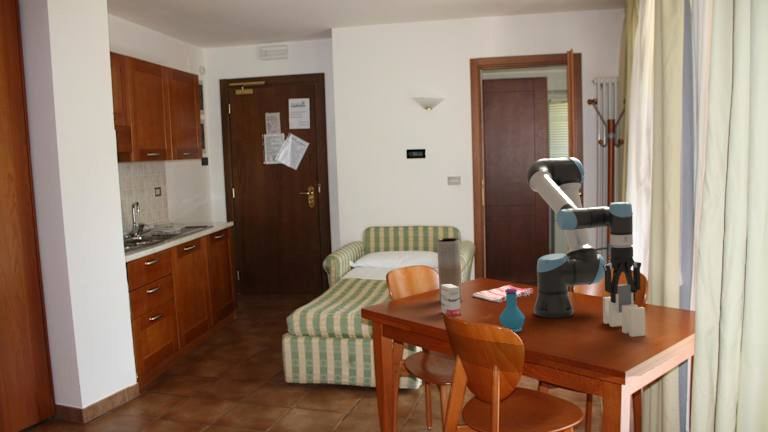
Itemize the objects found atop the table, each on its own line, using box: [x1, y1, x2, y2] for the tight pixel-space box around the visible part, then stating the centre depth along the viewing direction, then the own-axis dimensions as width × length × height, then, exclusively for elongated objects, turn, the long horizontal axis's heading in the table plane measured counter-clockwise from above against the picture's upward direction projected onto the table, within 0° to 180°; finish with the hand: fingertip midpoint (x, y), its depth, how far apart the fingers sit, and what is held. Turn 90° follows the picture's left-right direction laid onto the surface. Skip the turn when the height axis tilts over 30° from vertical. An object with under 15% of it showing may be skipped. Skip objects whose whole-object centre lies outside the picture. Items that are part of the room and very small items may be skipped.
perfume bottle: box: [498, 288, 526, 333], centre depth 238 cm, size 9×9×15 cm
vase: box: [436, 237, 463, 303], centre depth 287 cm, size 10×10×28 cm
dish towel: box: [472, 284, 534, 304], centre depth 295 cm, size 17×23×4 cm
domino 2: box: [616, 283, 631, 313], centre depth 231 cm, size 2×5×10 cm, turn 99°
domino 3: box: [621, 303, 639, 334], centre depth 227 cm, size 2×5×10 cm, turn 99°
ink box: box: [440, 284, 462, 317], centre depth 266 cm, size 8×5×12 cm, turn 20°
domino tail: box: [628, 306, 646, 338], centre depth 223 cm, size 2×5×10 cm, turn 99°
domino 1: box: [609, 300, 622, 328], centre depth 236 cm, size 2×5×10 cm, turn 99°
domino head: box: [602, 296, 611, 325], centre depth 240 cm, size 2×5×10 cm, turn 99°
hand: (623, 310), depth 231 cm, fingers closed on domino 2, 5 cm apart
